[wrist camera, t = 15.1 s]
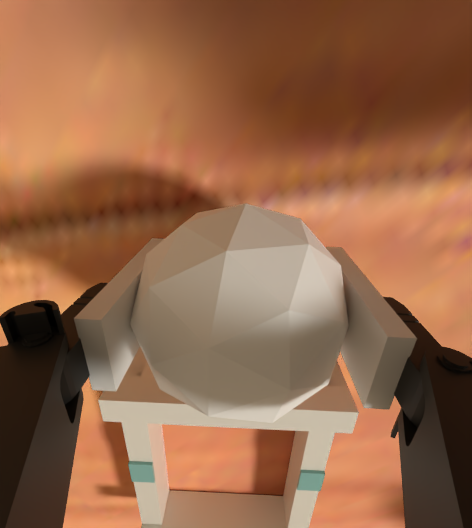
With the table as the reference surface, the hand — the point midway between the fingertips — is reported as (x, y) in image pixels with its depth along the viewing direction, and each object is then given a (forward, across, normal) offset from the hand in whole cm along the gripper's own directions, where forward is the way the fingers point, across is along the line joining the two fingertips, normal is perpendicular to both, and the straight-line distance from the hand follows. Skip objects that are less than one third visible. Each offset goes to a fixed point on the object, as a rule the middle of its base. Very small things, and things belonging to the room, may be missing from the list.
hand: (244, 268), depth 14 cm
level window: (+1, -1, -15) cm, 15 cm away
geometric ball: (0, 0, 0) cm, 0 cm away
